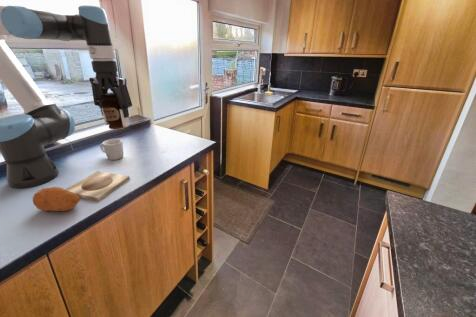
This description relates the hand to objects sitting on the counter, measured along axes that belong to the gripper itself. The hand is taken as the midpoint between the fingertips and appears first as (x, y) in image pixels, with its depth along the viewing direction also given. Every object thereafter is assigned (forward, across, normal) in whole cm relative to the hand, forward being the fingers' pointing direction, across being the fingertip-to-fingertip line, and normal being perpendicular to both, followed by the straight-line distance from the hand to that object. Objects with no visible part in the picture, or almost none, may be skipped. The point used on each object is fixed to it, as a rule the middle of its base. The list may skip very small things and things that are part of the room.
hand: (117, 124), depth 89 cm
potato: (+19, -2, -28) cm, 34 cm away
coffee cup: (+1, 0, 0) cm, 1 cm away
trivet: (+19, -1, -14) cm, 24 cm away
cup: (+19, -14, +8) cm, 25 cm away
